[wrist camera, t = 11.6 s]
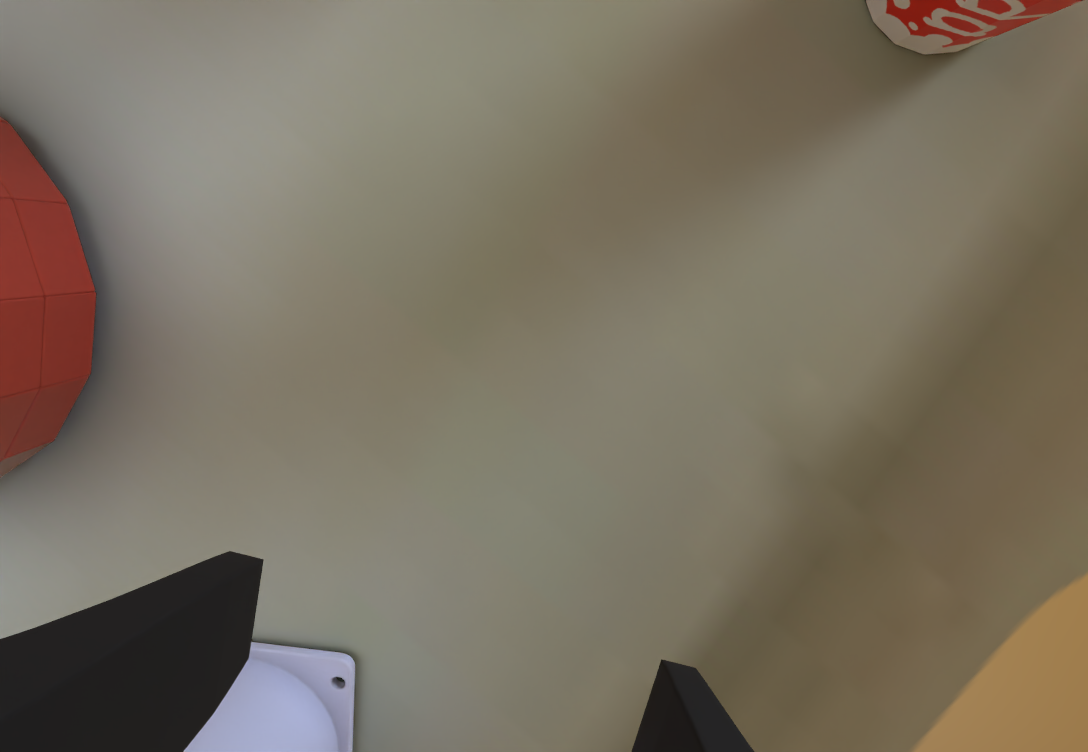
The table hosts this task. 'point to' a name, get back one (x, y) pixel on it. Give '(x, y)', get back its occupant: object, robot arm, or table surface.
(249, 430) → the table surface
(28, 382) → the bowl
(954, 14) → the beverage cup
